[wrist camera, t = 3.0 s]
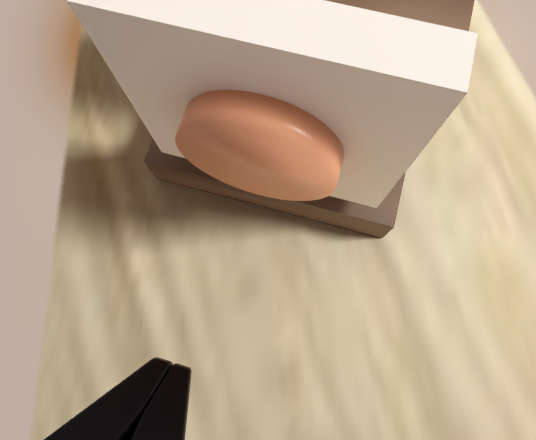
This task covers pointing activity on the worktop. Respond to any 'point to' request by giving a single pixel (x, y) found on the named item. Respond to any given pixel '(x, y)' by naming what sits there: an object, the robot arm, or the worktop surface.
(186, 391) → the robot arm
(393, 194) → the brown wooden stand
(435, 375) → the worktop surface
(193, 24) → the button plate
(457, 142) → the worktop surface
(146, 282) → the worktop surface
